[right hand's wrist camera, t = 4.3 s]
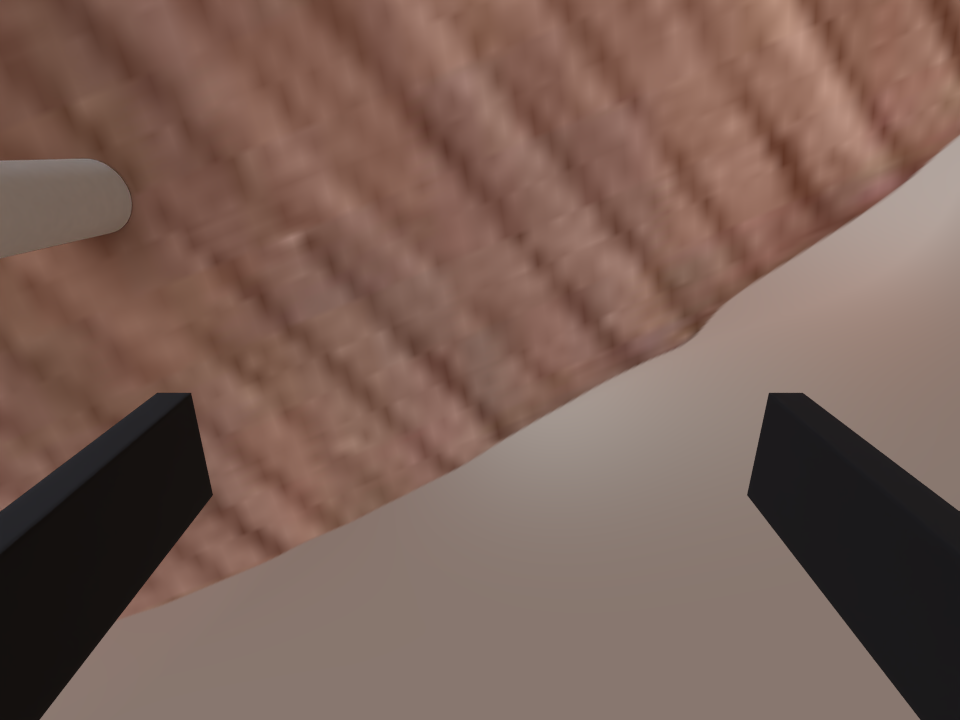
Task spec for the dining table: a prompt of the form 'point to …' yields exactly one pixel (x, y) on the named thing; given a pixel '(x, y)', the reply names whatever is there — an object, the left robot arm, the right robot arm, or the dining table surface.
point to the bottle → (58, 203)
